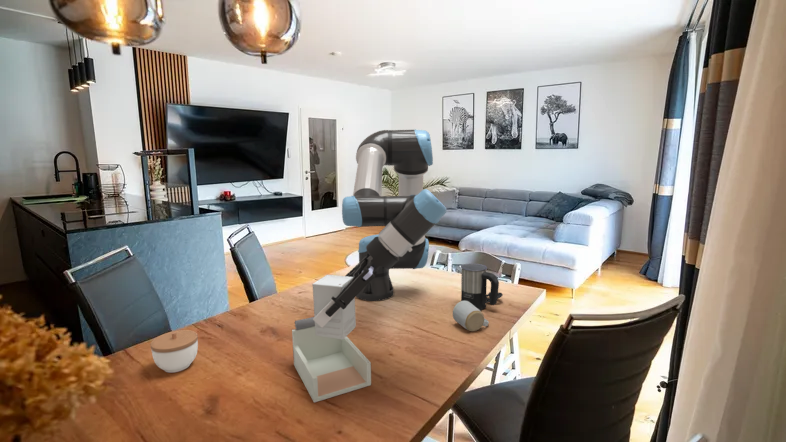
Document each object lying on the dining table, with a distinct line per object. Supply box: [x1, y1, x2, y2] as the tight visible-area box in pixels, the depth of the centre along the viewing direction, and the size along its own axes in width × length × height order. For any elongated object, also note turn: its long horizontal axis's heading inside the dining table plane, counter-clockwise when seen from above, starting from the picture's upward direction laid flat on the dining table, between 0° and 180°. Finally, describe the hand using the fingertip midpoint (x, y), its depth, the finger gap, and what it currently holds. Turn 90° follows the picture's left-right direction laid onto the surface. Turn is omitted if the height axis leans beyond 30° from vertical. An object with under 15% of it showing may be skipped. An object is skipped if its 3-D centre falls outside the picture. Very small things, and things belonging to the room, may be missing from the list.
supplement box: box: [311, 274, 357, 339], centre depth 91 cm, size 7×7×13 cm
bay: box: [291, 316, 372, 403], centre depth 97 cm, size 19×14×12 cm
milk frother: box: [460, 263, 503, 311], centre depth 142 cm, size 14×16×15 cm
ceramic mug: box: [452, 300, 490, 332], centre depth 124 cm, size 11×8×8 cm
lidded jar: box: [149, 329, 199, 374], centre depth 101 cm, size 11×11×9 cm
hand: (321, 314), depth 91 cm, fingers closed on supplement box, 9 cm apart
